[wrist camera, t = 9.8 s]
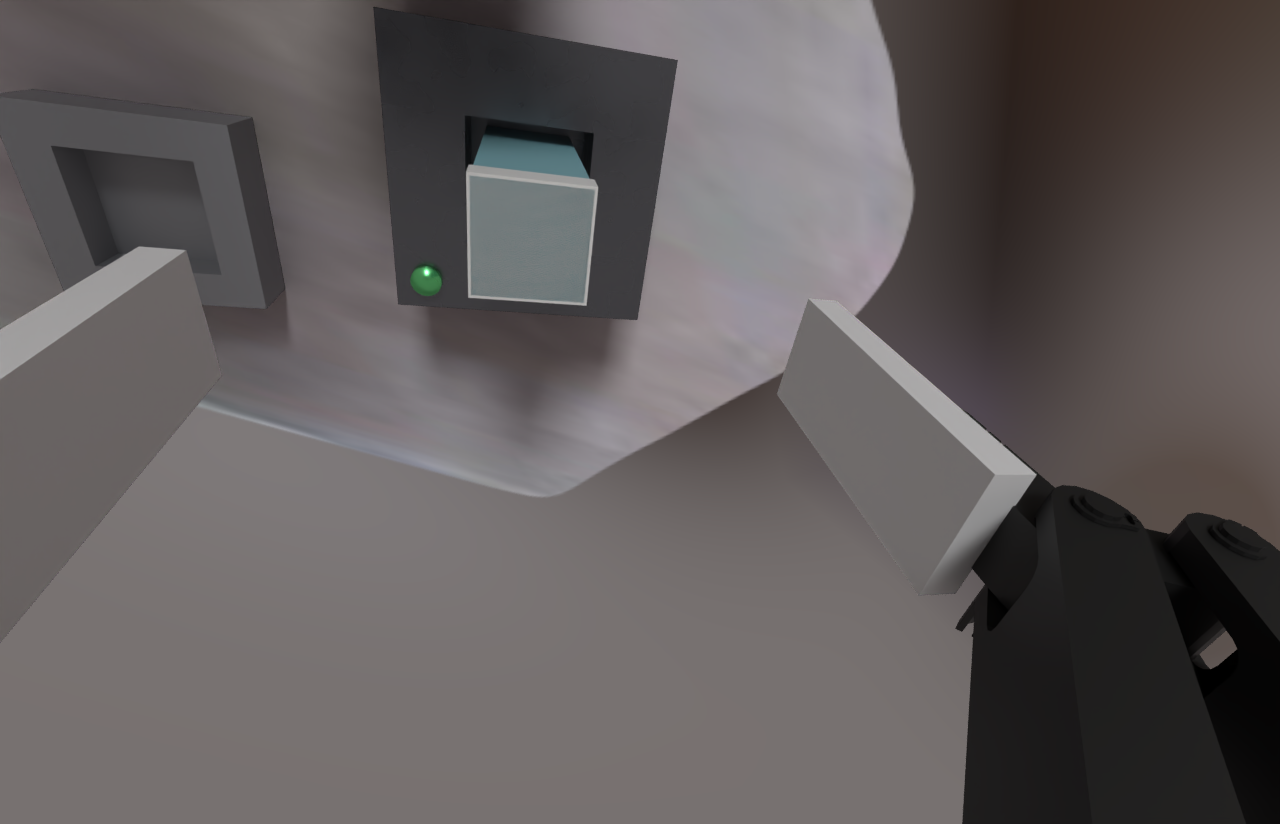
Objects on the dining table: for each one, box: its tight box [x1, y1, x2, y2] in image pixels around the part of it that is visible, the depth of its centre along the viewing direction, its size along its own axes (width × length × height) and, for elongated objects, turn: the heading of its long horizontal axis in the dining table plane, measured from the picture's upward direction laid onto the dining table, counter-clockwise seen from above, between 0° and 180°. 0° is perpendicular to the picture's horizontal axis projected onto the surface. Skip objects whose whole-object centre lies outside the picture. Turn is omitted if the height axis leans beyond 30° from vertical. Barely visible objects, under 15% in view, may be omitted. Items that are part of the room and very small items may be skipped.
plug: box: [466, 125, 598, 306], centre depth 24 cm, size 4×4×12 cm
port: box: [373, 7, 678, 320], centre depth 29 cm, size 12×12×7 cm
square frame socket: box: [0, 89, 285, 309], centre depth 28 cm, size 9×9×3 cm
